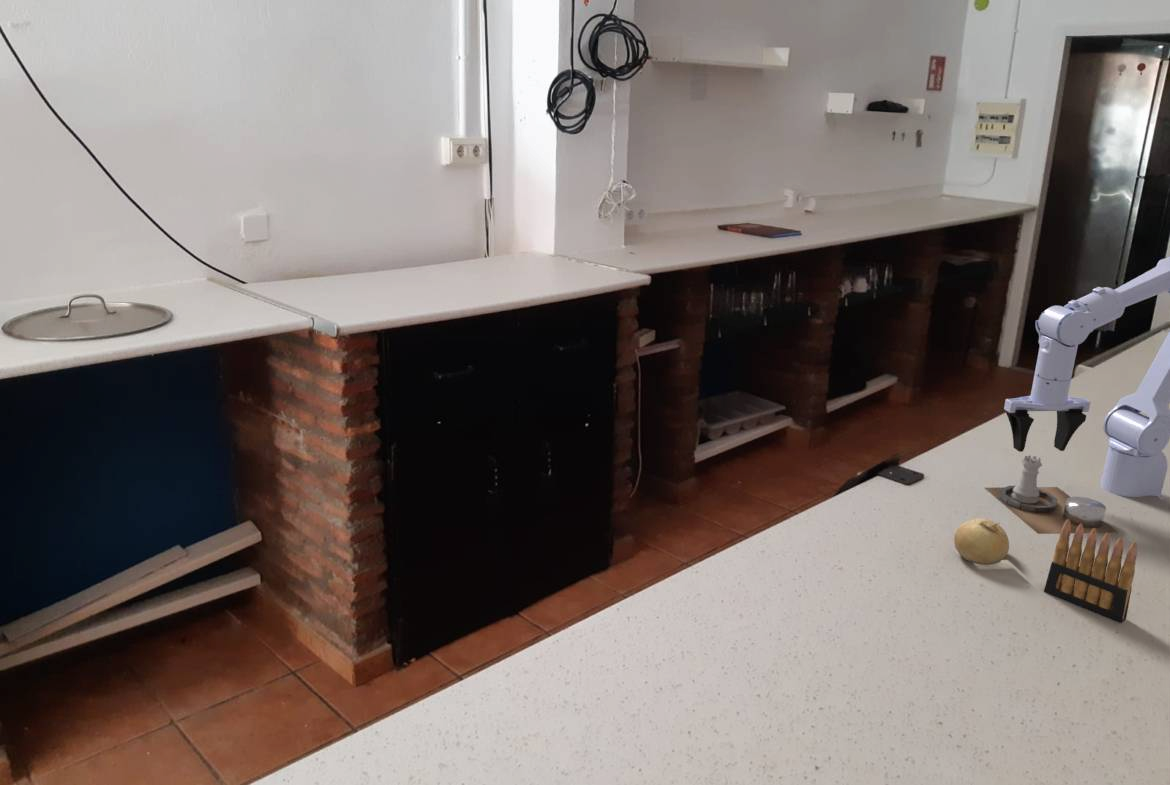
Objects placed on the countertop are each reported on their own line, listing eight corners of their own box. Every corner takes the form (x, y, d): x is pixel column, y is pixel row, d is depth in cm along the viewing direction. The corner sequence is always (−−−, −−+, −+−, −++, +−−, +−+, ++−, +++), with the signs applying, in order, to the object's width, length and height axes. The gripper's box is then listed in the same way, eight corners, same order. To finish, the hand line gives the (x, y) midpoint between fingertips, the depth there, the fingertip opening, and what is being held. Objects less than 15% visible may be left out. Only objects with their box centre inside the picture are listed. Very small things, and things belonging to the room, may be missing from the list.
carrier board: (1056, 491, 169) (1057, 486, 169) (1117, 537, 152) (1118, 532, 152) (983, 492, 168) (984, 487, 168) (1036, 538, 151) (1037, 533, 151)
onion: (943, 558, 144) (950, 517, 142) (963, 541, 150) (970, 501, 147) (995, 576, 139) (1003, 534, 137) (1013, 558, 144) (1021, 518, 142)
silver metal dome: (1088, 512, 159) (1092, 496, 158) (1110, 528, 153) (1113, 511, 152) (1055, 512, 158) (1058, 496, 157) (1075, 528, 153) (1079, 512, 152)
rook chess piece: (1033, 495, 165) (1041, 454, 162) (1042, 506, 161) (1050, 463, 158) (1007, 493, 165) (1015, 452, 163) (1015, 504, 161) (1023, 462, 159)
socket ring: (1038, 490, 167) (1039, 485, 167) (1067, 512, 158) (1068, 507, 158) (990, 490, 166) (991, 485, 166) (1016, 513, 158) (1017, 507, 157)
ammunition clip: (1126, 619, 128) (1145, 542, 125) (1121, 623, 127) (1139, 546, 123) (1048, 588, 136) (1064, 514, 132) (1043, 592, 135) (1058, 518, 131)
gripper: (1078, 369, 163) (1064, 440, 167) (1000, 369, 161) (988, 441, 166) (1103, 381, 156) (1087, 455, 160) (1022, 382, 155) (1008, 456, 159)
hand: (1038, 449), depth 162 cm, fingers open, 7 cm apart
